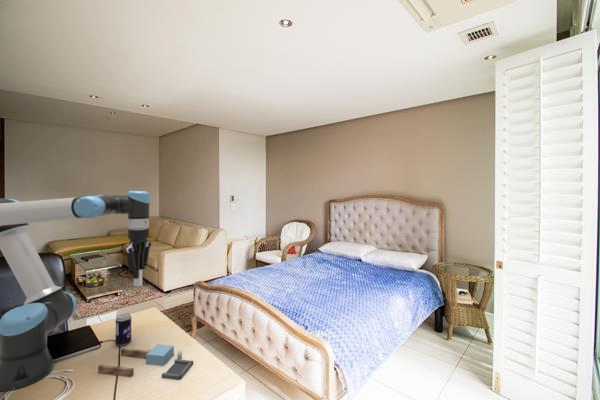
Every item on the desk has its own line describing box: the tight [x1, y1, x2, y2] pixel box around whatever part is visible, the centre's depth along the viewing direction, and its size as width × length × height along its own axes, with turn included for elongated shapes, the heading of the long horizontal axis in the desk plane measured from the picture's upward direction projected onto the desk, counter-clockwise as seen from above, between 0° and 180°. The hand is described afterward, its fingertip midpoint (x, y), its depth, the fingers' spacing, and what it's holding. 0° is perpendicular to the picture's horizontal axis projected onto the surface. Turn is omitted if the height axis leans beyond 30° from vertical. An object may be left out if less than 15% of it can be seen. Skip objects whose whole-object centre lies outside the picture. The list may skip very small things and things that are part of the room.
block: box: [145, 343, 175, 367], centre depth 108 cm, size 7×7×4 cm
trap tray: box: [161, 358, 194, 381], centre depth 102 cm, size 7×9×1 cm
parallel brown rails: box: [97, 347, 149, 378], centre depth 104 cm, size 13×12×2 cm
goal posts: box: [148, 346, 183, 360], centre depth 110 cm, size 14×2×3 cm, turn 83°
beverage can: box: [114, 312, 132, 347], centre depth 118 cm, size 6×6×12 cm
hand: (138, 285), depth 114 cm, fingers closed
